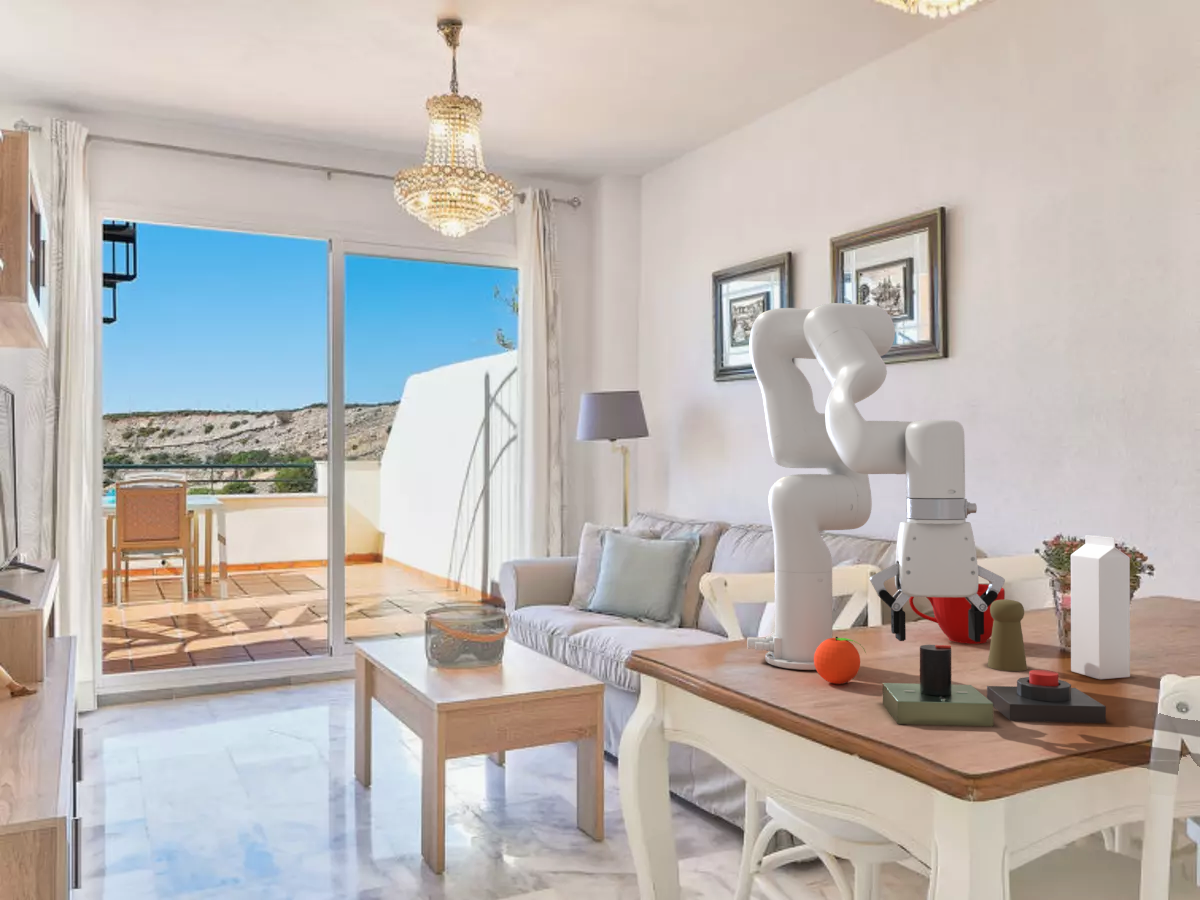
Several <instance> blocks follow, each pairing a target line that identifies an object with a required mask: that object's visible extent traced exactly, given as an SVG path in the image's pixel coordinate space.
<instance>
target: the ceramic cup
mask: <svg viewBox="0 0 1200 900" xmlns="http://www.w3.org/2000/svg"><path fill="white" fill-rule="evenodd" d="M988 586H989V584H984V583H978V591H977V594H978V595H979V597H980V596H981V595H982V594H983V593H984V592H985V591H986V590H987V589H988ZM1005 594H1006V591H1005V588H1004V587H1002V588H1001V590H1000V592H999V593H998V597H997V598H996V599H995V600H994V601H996V600H1003V599H1006V597H1005ZM914 598H915V597H912V596H911V597H910V599H909V600H908V603H909V606H910V608H911V610H912V611H913V613H915V614H916V615H917V616H919V617H920V618H922V619H925V620H927V621H929V622H933V623H936V624H937V625H938V626H939V628H940V630H941V631H942V632H943V633H944V635H945V636H946V637H947V638H948V640H949V641H951V642H954V643H958V644H959V643H960V644H970V645H971V644H972V645H977V644H979V645H980V644H985V643H987V642H988V640H990V639H991V636H992V629H993V622H994V619H993V618H992V616H991V613H990V606H991V604H992V603H991V604H990V605H989V606H988V607H987V610H986V611H984V634H983V635H981V641H980V642H975V641H974V640H972V639H970V638H969V636H968V610H969V609H971V604H970V603H969V602H968V601H967V600H966V598H965V597H925V598H926V599H927V600H928V602H930V604H931V607H932V611H933V615H934V616H930V615H927V614H925V613H923V612H921V611H920V610H919V609H917V607H916V606H915V604H914ZM994 601H993V602H994Z"/></svg>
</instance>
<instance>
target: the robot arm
mask: <svg viewBox="0 0 1200 900" xmlns="http://www.w3.org/2000/svg"><path fill="white" fill-rule="evenodd" d="M895 336H896V329H895V324H894V322H893V319H892V317H891V315H890V314H889V313H888V312H887V310H885V309H884V308H882V307H880V306H878V305H873V304H858V303H844V302H829V303H823V304H820V305H818V306H816V307H814V308H813V309H812V308H801V307H799V308H798V307H781V308H780V307H779V308H773V309H768V310H766V311H763V312H762V313H761V314H759V315H758V316H757V317H756V318H755V320H754V321H753V323H752V326H751V329H750V333H749V343H748V344H749V345H748V348H749V357H750V362H751V363H750V364H751V367H752V369H753V372H754V374H755V377H756V379H757V382H758V386H759V389H760V392H761V396H762V402H763V410H764V411H763V412H764V417H765V424H766V431H767V438H768V444H769V450H770V455H771V457H772V460H773V461H774V463H776V465H778V466H780V467H783V468H789V469H825V470H826V471H827V474H825V473H824V474H823V473H799V474H789V475H785V476H783V477H780V478H779V479H778V480H776V481H775V482H774V483H773V484H772V485H771V487H770V489H769V492H768V497H767V501H768V502H767V503H768V504H767V505H768V511H769V512H768V513H769V517H770V522H771V527H772V528H771V529H772V537H773V553H774V557H773V562H774V565H773V566H774V631H772V632H771V635H766V636H765V637H764V638H763V637H747V638H746V639H747V640H746V645H747V646H746V648H747V650H755V651H766V653H765V662H766V663H767V664H768V665H772V666H773V667H777V668H783V669H788V670H798V671H799V670H800V671H817V670H816V668H815V665H814V654H815V651H816V649H817V647H818V646H819V645H820V644H821V643H822V642H823V641H825V640H826V639H829V638H833V557H832V554H831V553H832V552H831V551H830V548H829V547H828V545H827V543H826V542H825V539H824V538H823V537H822V535H821V533H820V532H823V531H824V532H825V531H848V530H849V531H851V530H856V529H859V528H861V527H863V526H864V525H865V524H867V522H868V521H869V519H870V517H871V514H872V507H873V501H872V499H873V497H872V490H871V483H870V477H869V475H905V513H906V515H905V517H906V521H900V522H899V526H898V529H897V530H898V531H897V538H896V548H895V561H894V562H895V563H894V564H892V565H890V566H889V567H886V568H884V569H882V570H880V571H879V572H876V573H875V574H873V575H870V576H869V581H870V584H871V586H872V587H873V589H874V591H875V592H876V594H877V596H878V597H879V598H880V599H881V600H882V602H884V604H886V605H887V606H888V607H889V608H890V630H891V631H890V632H891V634H893V635H895V639H897V640H898V641H899V642H905V641H906V640H907V639H906V637H907V636H906V635H907V633H906V632H907V629H906V611H904V609H903V608H904V606H905V605H906V603H908V602H909V599H910V597H911V596H912V597H914V598H926V597H965V598H966V600H967V601H968V602H969V603H970V604H971V609H969V610H968V636H969V638H970V639H972V640H974V641H975V642H980V641H981V635H983V634H984V611H986V610H987V607H988V606H989V605H990V604H991V603H992V602H993V601H994V600H995V599H996V598H997V597H998V593H999V592H1000V590H1001V588H1003V586H1004V584H1005V582H1006V580H1005V578H1004V577H1003V576H1002V575H999V574H997V573H994V572H993V571H991V570H989V569H987V568H986V567H983V566H981V565H980V564H978V557H977V548H976V542H975V536H974V532H973V527H972V524H971V522H969V521H966V519H968V516H969V515H971V514H976V513H977V511H978V507H977V503H976V502H973V503H972V502H971V501H968V499H967V498H966V460H965V459H966V453H965V449H966V448H965V429H964V426H963V425H962V423H961V422H959V421H958V420H955V419H921V420H915V421H902V420H901V421H900V420H866V419H865V418H864V417H863V416H862V414H861V412H860V411H859V409H858V407H857V405H856V404H857V403H860V402H861V401H863V400H865V399H867V398H869V397H870V396H872V395H873V394H875V393H876V392H877V391H878V390H879V389H880V388H881V387H882V385H883V384H884V383H885V380H886V378H887V374H888V371H887V370H888V369H887V365H886V363H885V361H884V360H883V359H882V357H883V356H884V355H886V354H887V353H889V351H890V350H891V348H892V347H893V345H894V342H895ZM793 359H804V360H805V359H806V360H816V361H817V363H818V364H819V366H820V368H821V370H822V372H823V374H824V375H825V377H826V379H827V381H828V383H829V384H830V386H831V389H830V392H829V394H828V396H827V399H826V403H825V408H824V413H821V412H818V411H817V409H816V406H815V402H814V394H813V389H812V386H811V383H810V382H809V380H808V379H807V377H806V376H805V374H804V372H803V371H802V370H801V369H800V368H799V367H798V366H797V365H796V364H795V363H794V361H793ZM979 577H980V578H982V579H984V580H986V581H988V585H989V586H988V589H987V590H986V591H985V592H984V593H983V594H982V595H981V596H980V597H979V595H978V594H977V591H978V584H979ZM893 578H894V585H895V586H894V587H895V589H896V590H897V591H896V592H895V593H894V594H893V595H892V594H891V593H889V591H888V590H887V588H886V586H885V582H887V581H888V580H890V579H893Z"/></svg>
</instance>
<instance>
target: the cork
mask: <svg viewBox="0 0 1200 900" xmlns="http://www.w3.org/2000/svg"><path fill="white" fill-rule="evenodd" d="M990 613H991V616H992V618H993V619H994V622H993V629H992V636H991V637H990V644H989V652H988V658H987V667H988V668H990V669H993V670H998V671H1004V672H1005V671H1006V672H1024V671H1026V670H1028V664H1027V657H1026V651H1025V644H1024V635H1023V630H1022V620H1023V619H1024V617H1025V607H1024V605H1023V604H1022V603H1021V602H1020V601H1017V600H1015V599H1014V600H1013V599H1006V598H1005V599H1003V600H996V601H994V602H992V604H991V606H990Z"/></svg>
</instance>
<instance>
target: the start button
mask: <svg viewBox="0 0 1200 900" xmlns="http://www.w3.org/2000/svg"><path fill="white" fill-rule="evenodd" d="M1028 677H1029V683H1031V684H1034V685H1041V686H1058V680H1059V673H1058V672H1056V671H1053V670H1047V669H1032V670H1031V669H1030V670H1029V671H1028Z"/></svg>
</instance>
